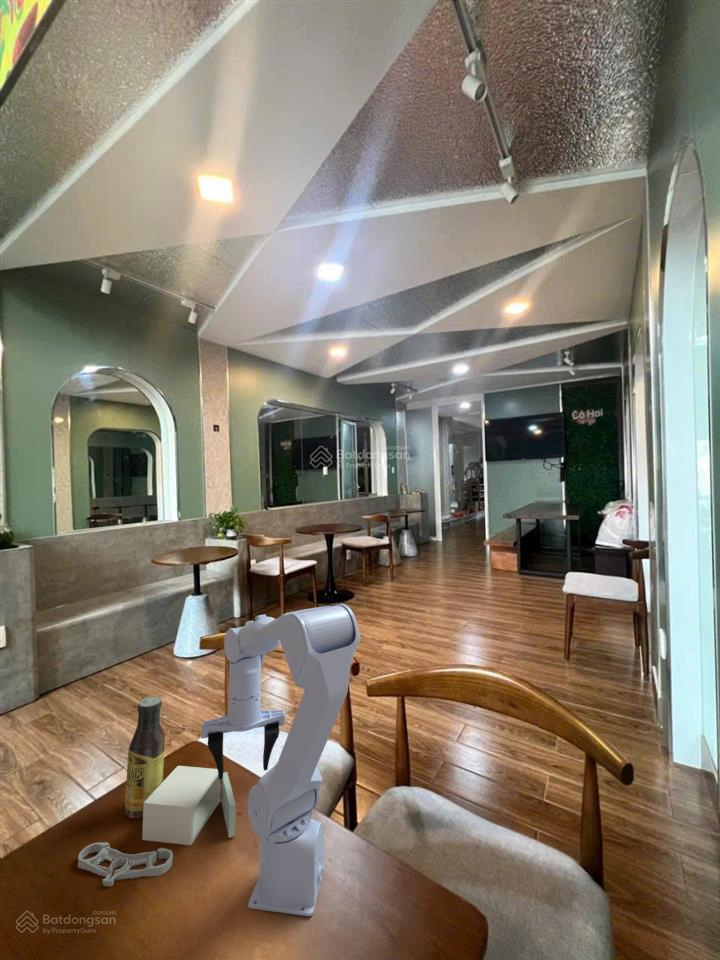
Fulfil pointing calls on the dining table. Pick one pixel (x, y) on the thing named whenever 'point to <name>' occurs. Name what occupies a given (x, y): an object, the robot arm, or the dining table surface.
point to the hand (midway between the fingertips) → (243, 771)
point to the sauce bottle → (145, 757)
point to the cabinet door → (228, 804)
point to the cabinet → (181, 805)
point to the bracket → (123, 862)
